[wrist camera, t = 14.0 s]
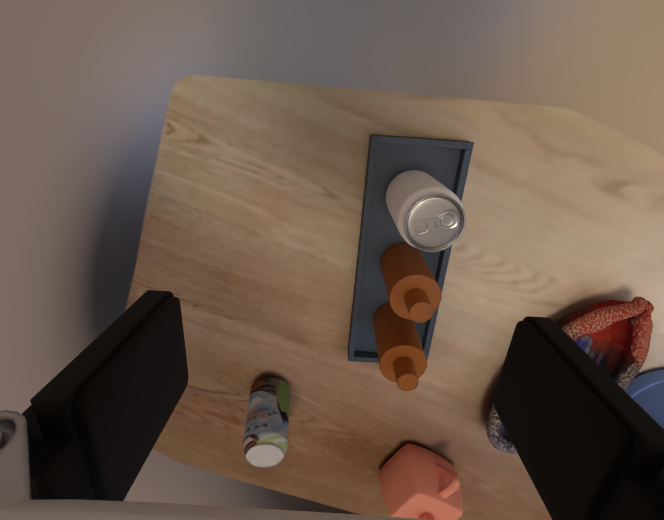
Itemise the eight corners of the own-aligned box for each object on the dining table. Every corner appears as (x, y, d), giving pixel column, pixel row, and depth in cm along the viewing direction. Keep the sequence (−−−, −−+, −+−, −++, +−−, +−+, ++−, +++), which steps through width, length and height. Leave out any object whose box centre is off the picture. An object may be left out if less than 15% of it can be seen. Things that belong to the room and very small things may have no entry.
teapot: (470, 450, 62) (494, 512, 52) (407, 505, 68) (419, 570, 58) (418, 423, 60) (433, 483, 50) (358, 482, 66) (361, 546, 56)
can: (441, 213, 45) (474, 246, 34) (391, 226, 46) (407, 263, 35) (432, 162, 42) (464, 181, 31) (379, 177, 43) (393, 200, 32)
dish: (451, 412, 58) (461, 438, 54) (590, 265, 48) (616, 281, 43) (524, 446, 61) (539, 474, 57) (670, 314, 50) (704, 335, 46)
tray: (370, 134, 42) (371, 135, 40) (467, 141, 42) (473, 142, 40) (347, 352, 54) (347, 361, 52) (422, 357, 54) (426, 366, 52)
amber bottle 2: (374, 300, 50) (385, 360, 38) (414, 303, 50) (437, 364, 38) (370, 333, 52) (379, 400, 40) (408, 336, 52) (428, 403, 40)
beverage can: (265, 365, 55) (247, 428, 44) (304, 387, 57) (295, 454, 46) (244, 389, 57) (222, 456, 46) (282, 410, 59) (269, 479, 48)
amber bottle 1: (382, 240, 46) (397, 285, 34) (425, 243, 46) (454, 289, 34) (377, 278, 49) (389, 334, 37) (418, 281, 49) (443, 337, 37)
